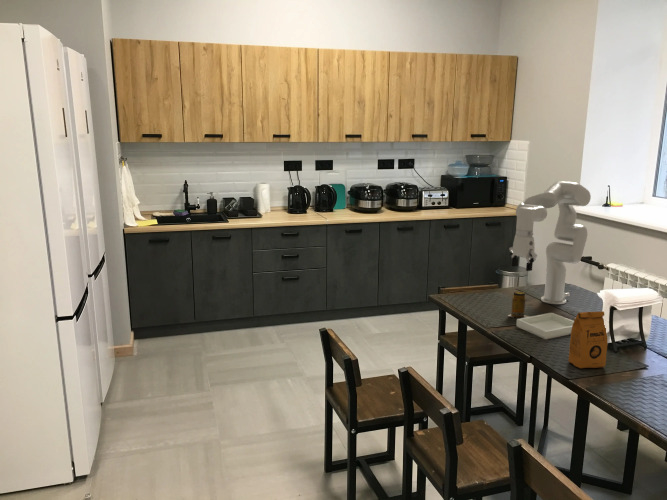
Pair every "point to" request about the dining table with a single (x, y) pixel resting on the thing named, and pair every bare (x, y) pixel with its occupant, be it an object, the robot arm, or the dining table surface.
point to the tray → (546, 325)
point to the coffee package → (588, 340)
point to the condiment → (518, 305)
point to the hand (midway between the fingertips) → (521, 268)
